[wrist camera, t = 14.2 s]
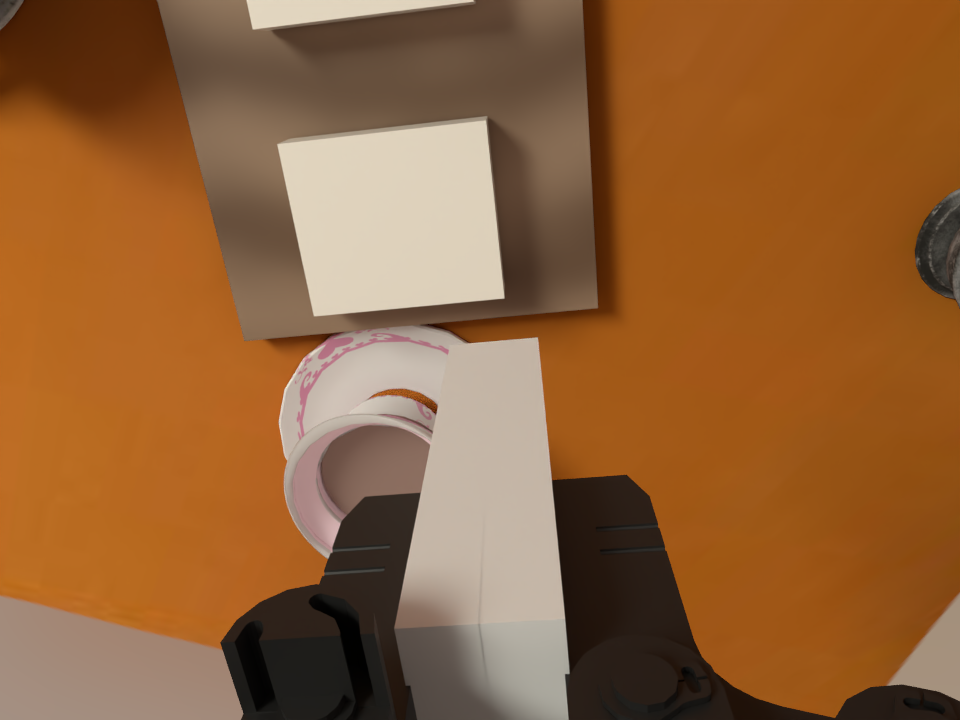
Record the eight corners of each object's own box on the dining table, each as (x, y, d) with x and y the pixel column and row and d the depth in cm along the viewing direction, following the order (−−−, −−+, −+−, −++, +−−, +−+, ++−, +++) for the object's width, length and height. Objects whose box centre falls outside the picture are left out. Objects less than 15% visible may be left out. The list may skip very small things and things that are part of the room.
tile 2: (487, 115, 29) (291, 138, 30) (485, 120, 27) (277, 144, 28) (504, 284, 32) (324, 301, 32) (504, 298, 30) (314, 316, 30)
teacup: (233, 387, 36) (181, 451, 30) (443, 272, 33) (430, 319, 27) (367, 562, 40) (343, 648, 34) (564, 472, 37) (574, 549, 31)
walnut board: (116, -215, 26) (99, -226, 25) (564, -284, 25) (566, -299, 24) (252, 331, 34) (244, 341, 33) (595, 299, 33) (598, 307, 32)
